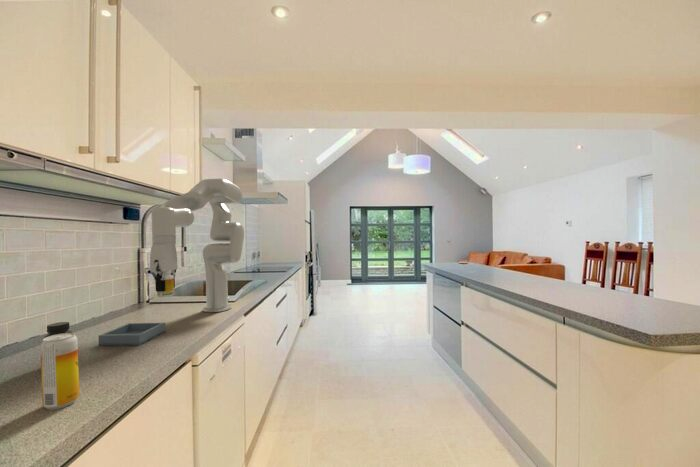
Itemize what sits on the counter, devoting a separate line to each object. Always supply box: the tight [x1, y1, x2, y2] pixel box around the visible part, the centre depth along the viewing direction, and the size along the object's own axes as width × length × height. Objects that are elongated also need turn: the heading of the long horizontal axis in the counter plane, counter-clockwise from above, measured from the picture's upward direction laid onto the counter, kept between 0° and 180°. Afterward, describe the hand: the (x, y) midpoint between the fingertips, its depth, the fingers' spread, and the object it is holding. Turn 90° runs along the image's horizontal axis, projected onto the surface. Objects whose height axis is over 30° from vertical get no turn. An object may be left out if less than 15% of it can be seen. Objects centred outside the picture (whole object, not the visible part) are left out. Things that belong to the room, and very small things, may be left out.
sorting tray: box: [98, 322, 166, 347], centre depth 113 cm, size 14×14×4 cm
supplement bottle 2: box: [156, 270, 175, 298], centre depth 118 cm, size 5×5×10 cm
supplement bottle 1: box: [41, 321, 74, 343], centre depth 92 cm, size 7×7×12 cm
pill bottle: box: [39, 332, 80, 411], centre depth 71 cm, size 6×6×15 cm
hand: (165, 289), depth 118 cm, fingers closed on supplement bottle 2, 5 cm apart
